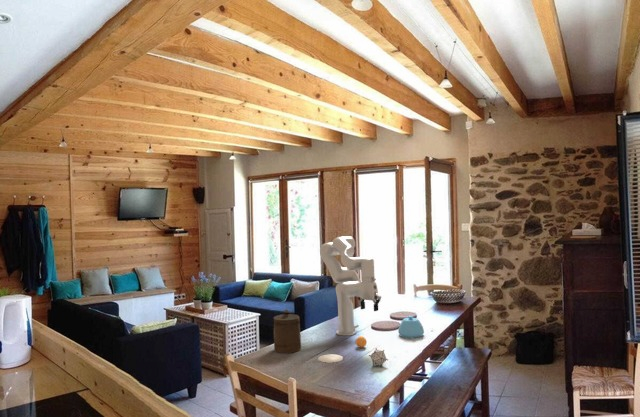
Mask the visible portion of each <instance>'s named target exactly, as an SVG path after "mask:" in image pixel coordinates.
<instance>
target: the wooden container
mask: <svg viewBox="0 0 640 417" xmlns="http://www.w3.org/2000/svg"><path fill="white" fill-rule="evenodd" d="M300 321H301V320H300V316H299V314H294V313H293V314H292V313H290V310H289V309H284V310H283V314H279V315H275V316H274V317H273V344H274V351H275V352H276V353H280V354H291V353H297V352H299V351H301V349H302V338H301V335H302V334H301V323H300Z"/></svg>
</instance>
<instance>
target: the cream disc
mask: <svg viewBox="0 0 640 417" xmlns="http://www.w3.org/2000/svg"><path fill="white" fill-rule="evenodd" d="M343 359H344V358H343V356H342V355H339V354H331V353H330V354H324V355H323V354H322V355H321V356H318V358H317V361H319V362H321V363H325V362H326V363H325V364H332V363H333V362H334V363H338V362H341V361H343Z"/></svg>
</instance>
